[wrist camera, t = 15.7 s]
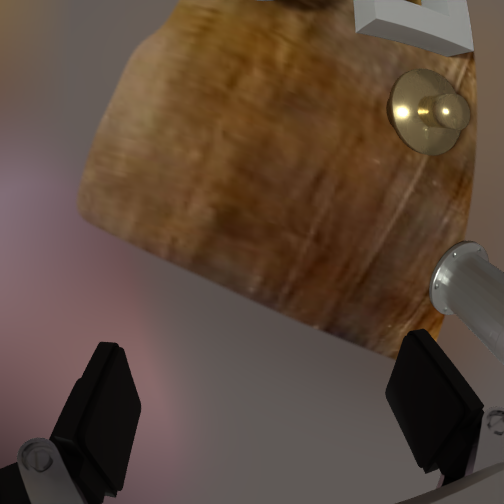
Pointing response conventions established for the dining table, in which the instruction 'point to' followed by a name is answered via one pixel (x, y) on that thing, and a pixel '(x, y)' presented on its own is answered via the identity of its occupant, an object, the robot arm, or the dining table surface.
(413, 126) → the end cover
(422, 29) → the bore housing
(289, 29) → the dining table surface
